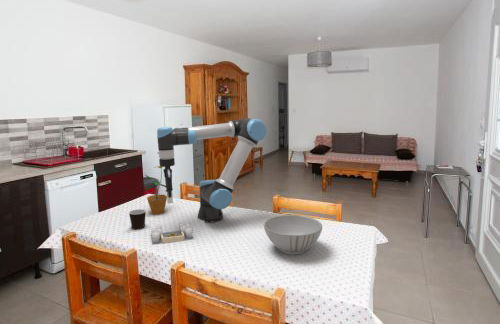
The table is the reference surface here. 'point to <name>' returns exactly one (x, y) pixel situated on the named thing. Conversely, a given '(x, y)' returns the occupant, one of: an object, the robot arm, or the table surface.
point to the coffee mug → (137, 219)
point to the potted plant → (157, 198)
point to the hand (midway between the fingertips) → (170, 202)
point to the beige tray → (161, 237)
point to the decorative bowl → (292, 232)
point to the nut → (172, 235)
